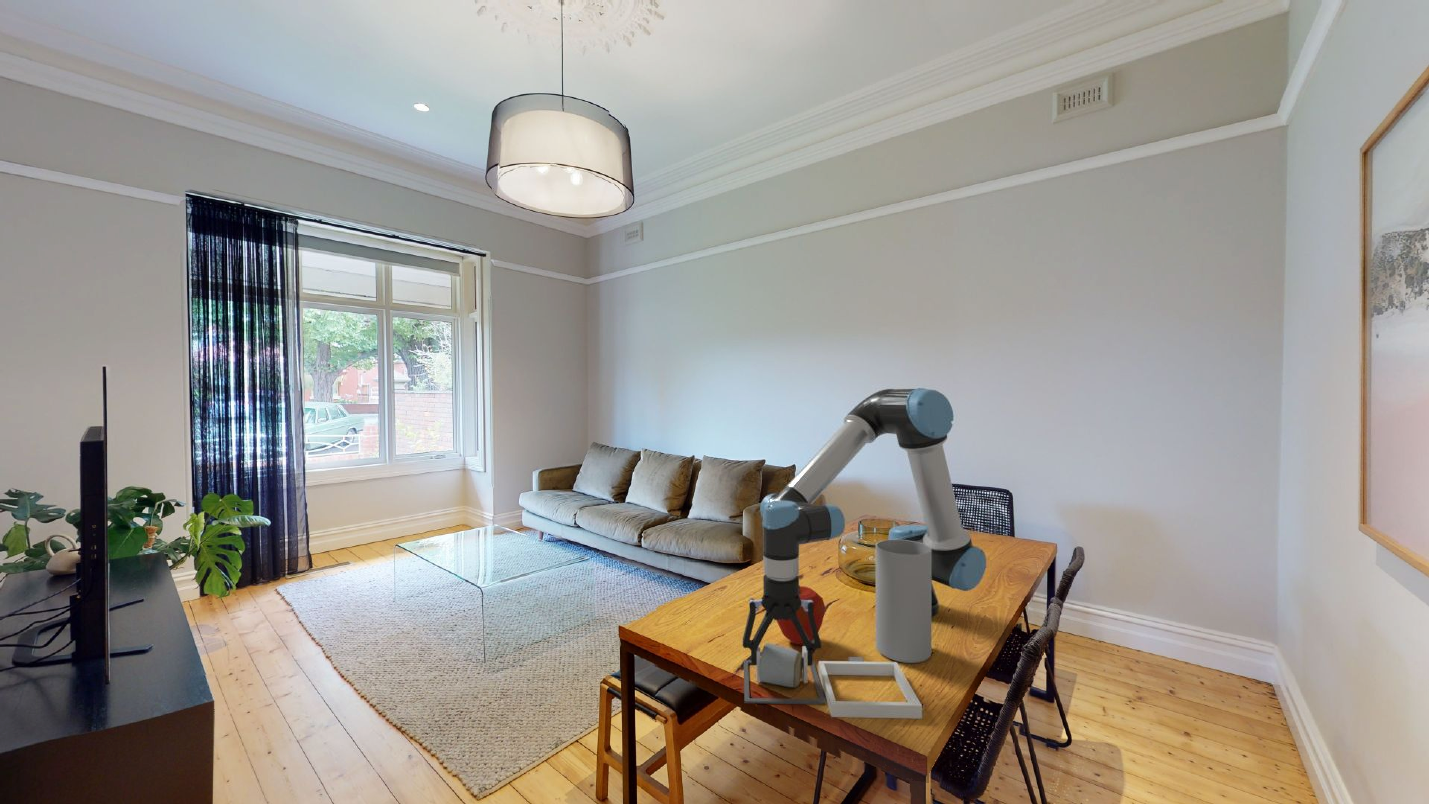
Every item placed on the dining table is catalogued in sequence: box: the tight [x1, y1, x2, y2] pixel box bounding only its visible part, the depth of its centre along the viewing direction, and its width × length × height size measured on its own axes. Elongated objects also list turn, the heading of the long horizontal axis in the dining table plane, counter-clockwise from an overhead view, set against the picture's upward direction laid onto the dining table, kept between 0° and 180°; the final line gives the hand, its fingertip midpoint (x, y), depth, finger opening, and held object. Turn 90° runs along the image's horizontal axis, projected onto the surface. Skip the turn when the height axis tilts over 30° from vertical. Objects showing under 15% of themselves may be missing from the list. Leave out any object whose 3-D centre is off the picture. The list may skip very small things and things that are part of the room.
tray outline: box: [743, 659, 826, 705], centre depth 113 cm, size 16×16×1 cm
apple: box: [775, 585, 826, 646], centre depth 131 cm, size 12×12×14 cm
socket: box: [818, 656, 923, 720], centre depth 109 cm, size 17×18×2 cm
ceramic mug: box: [759, 642, 803, 688], centre depth 114 cm, size 11×8×8 cm
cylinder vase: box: [875, 539, 933, 664], centre depth 126 cm, size 12×12×25 cm
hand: (781, 679), depth 113 cm, fingers closed on ceramic mug, 9 cm apart
